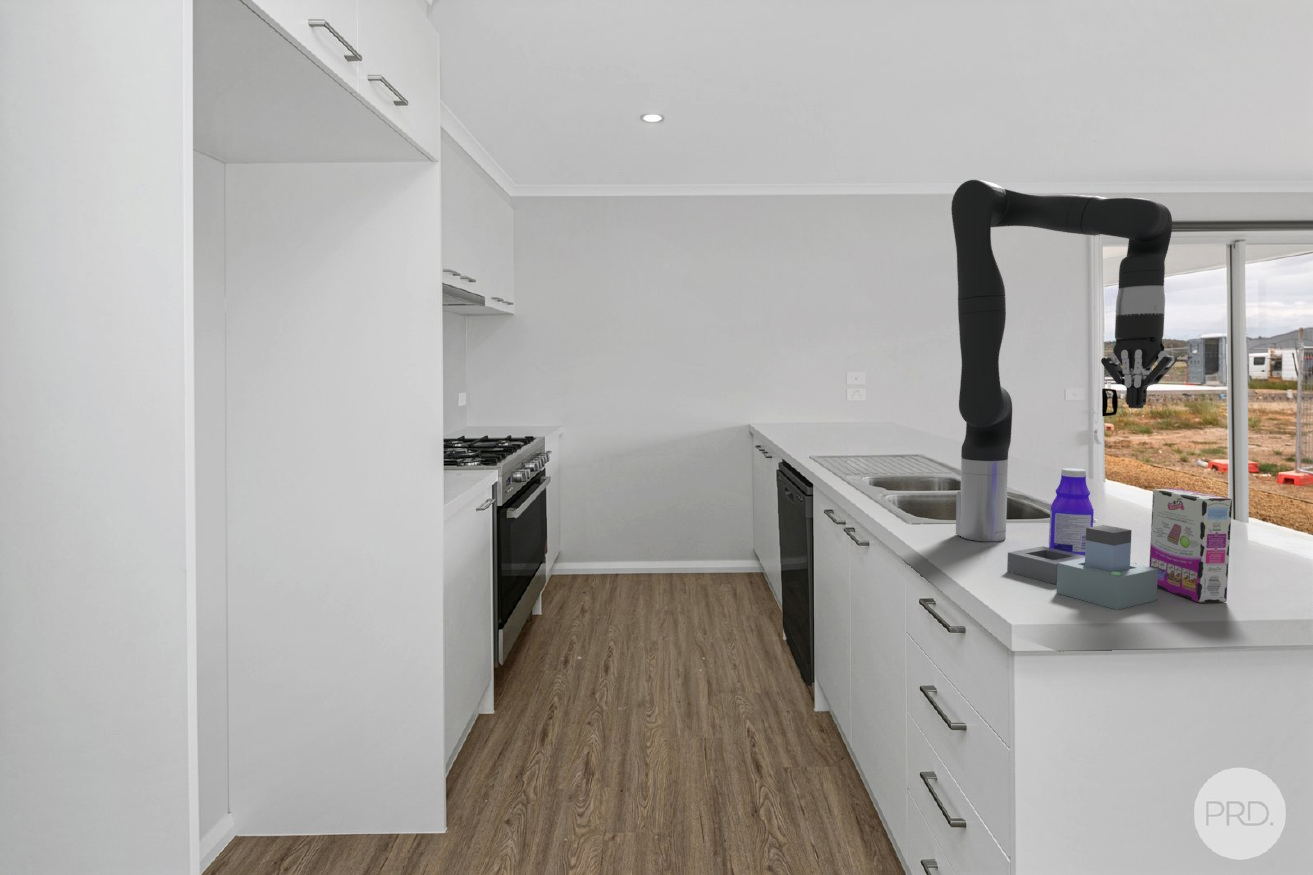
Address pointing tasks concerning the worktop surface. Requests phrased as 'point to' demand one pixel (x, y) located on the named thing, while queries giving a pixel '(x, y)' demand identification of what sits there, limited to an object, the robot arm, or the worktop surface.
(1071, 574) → the port
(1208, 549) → the candy bar box
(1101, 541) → the plug
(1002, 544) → the worktop surface
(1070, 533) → the bottle
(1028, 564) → the holster
